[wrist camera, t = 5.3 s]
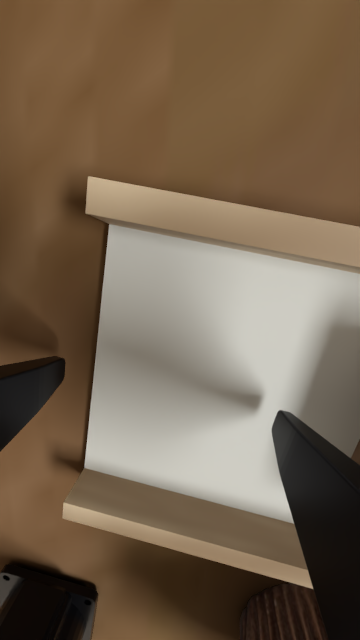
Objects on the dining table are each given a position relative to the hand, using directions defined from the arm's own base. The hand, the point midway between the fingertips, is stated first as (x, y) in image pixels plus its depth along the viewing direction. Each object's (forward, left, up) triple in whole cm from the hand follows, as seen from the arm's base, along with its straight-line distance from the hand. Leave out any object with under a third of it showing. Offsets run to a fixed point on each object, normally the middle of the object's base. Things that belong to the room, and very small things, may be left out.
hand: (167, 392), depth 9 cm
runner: (0, -13, -1) cm, 13 cm away
